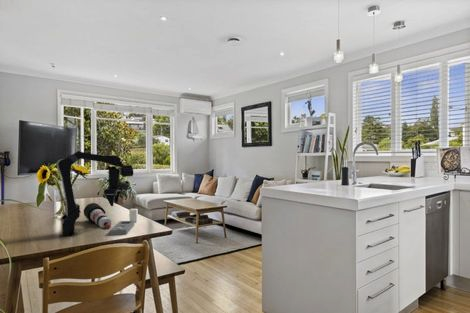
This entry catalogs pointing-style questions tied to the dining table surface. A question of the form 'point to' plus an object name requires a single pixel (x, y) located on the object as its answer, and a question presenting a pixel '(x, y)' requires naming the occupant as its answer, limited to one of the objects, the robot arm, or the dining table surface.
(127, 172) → the robot arm
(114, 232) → the grey hollow box
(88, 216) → the cable
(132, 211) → the white block
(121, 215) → the dining table surface
